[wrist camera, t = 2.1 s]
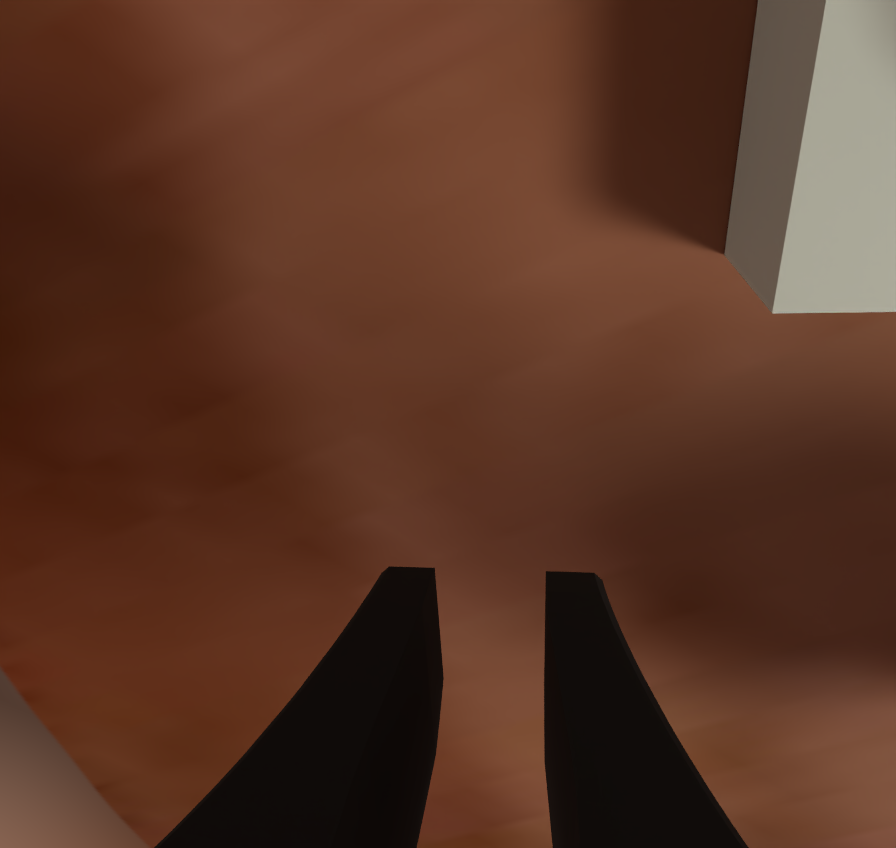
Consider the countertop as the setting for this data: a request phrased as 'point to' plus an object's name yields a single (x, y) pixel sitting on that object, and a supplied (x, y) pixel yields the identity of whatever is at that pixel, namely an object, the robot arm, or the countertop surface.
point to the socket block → (818, 158)
